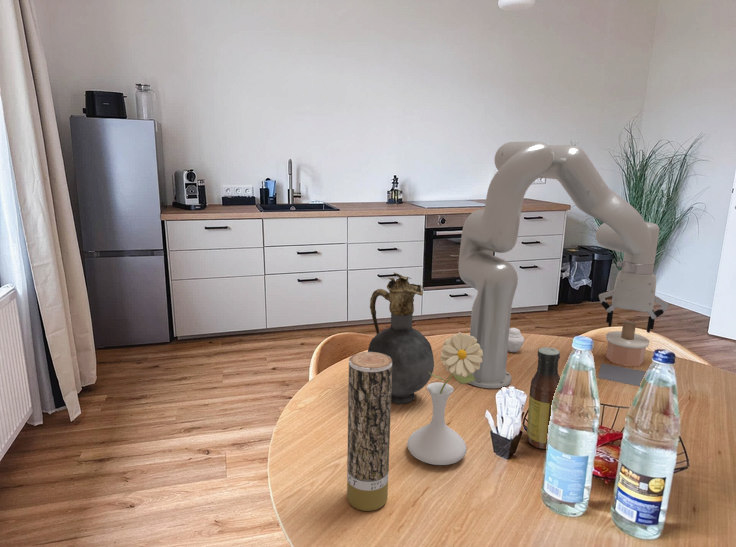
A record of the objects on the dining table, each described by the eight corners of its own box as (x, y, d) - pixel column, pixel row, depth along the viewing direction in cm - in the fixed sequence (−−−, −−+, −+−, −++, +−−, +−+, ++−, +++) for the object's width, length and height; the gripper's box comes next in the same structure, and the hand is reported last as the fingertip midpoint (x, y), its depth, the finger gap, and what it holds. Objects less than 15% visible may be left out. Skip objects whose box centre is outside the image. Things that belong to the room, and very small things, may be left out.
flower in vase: (403, 467, 97) (409, 339, 92) (409, 435, 108) (414, 319, 102) (475, 476, 95) (486, 345, 89) (474, 442, 106) (483, 324, 100)
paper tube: (386, 486, 92) (390, 352, 86) (388, 513, 85) (394, 369, 79) (346, 486, 91) (348, 351, 86) (346, 513, 85) (348, 368, 79)
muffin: (508, 355, 152) (510, 332, 150) (497, 347, 157) (499, 325, 156) (527, 353, 153) (529, 330, 151) (516, 345, 159) (518, 323, 157)
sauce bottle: (554, 435, 109) (564, 345, 105) (562, 452, 103) (573, 357, 99) (522, 433, 110) (531, 343, 105) (527, 450, 104) (537, 355, 99)
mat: (645, 389, 132) (645, 387, 132) (597, 379, 137) (597, 377, 136) (645, 373, 141) (645, 371, 141) (601, 364, 146) (601, 363, 146)
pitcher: (402, 416, 116) (408, 284, 109) (352, 385, 130) (354, 266, 123) (438, 403, 122) (445, 277, 115) (386, 374, 137) (390, 261, 130)
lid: (616, 348, 142) (618, 328, 141) (599, 334, 153) (601, 316, 151) (656, 348, 142) (659, 329, 141) (636, 335, 153) (639, 316, 151)
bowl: (615, 367, 145) (618, 346, 143) (601, 354, 153) (604, 335, 152) (647, 368, 145) (651, 347, 143) (632, 355, 153) (635, 336, 152)
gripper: (601, 266, 143) (594, 326, 147) (674, 275, 135) (664, 338, 139) (603, 261, 150) (596, 319, 154) (673, 269, 142) (663, 329, 146)
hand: (628, 328), depth 146 cm, fingers open, 9 cm apart
